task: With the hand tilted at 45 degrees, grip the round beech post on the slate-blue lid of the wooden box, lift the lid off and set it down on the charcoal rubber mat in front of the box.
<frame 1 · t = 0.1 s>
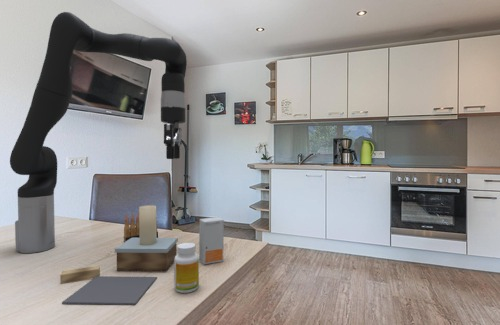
hand: (173, 158, 87), 29 cm above the table, tool pointing down, fingers open, 8 cm apart
supplement bottle: (186, 288, 63), on the table
wooden box: (148, 264, 76), on the table
mat: (113, 290, 61), on the table
wooden block: (81, 279, 67), on the table
ammunition clip: (141, 250, 88), on the table
lid: (148, 246, 76), point 5 cm above the table, touching wooden box
skincare box: (211, 261, 78), on the table
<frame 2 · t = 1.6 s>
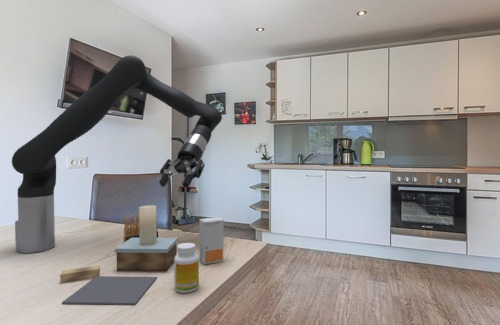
hand: (172, 185, 86), 21 cm above the table, tool tilted 45°, fingers open, 8 cm apart
nothing on the table moved.
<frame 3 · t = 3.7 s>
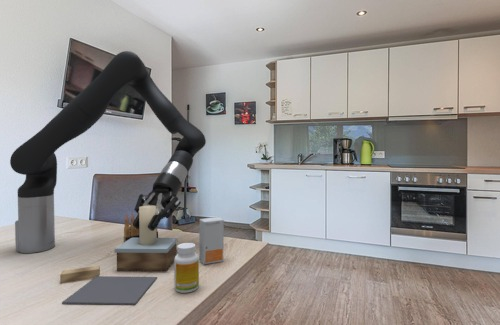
hand: (143, 228, 74), 11 cm above the table, tool tilted 45°, fingers closed on lid, 4 cm apart
lid: (148, 246, 76), point 5 cm above the table, touching gripper, wooden box
everything else where it was.
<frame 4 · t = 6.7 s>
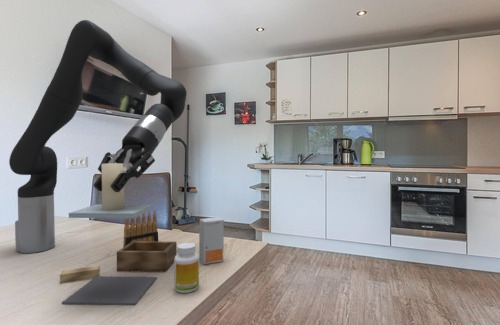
hand: (105, 189, 59), 23 cm above the table, tool tilted 45°, fingers closed on lid, 4 cm apart
lid: (113, 213, 61), point 17 cm above the table, touching gripper
everything else where it was.
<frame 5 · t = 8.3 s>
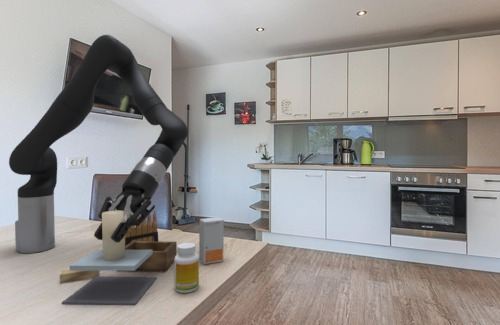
hand: (106, 239, 59), 12 cm above the table, tool tilted 45°, fingers closed on lid, 4 cm apart
lid: (114, 261, 61), point 6 cm above the table, touching gripper
everything else where it was.
when the fingers open (7 cm above the table, at t = 9.5 s): lid drops 1 cm, resting on mat.
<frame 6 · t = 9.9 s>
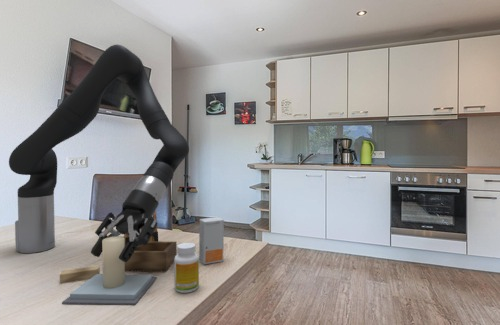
hand: (108, 257, 60), 8 cm above the table, tool tilted 45°, fingers open, 8 cm apart
lid: (114, 288, 62), resting on mat
everything else where it was.
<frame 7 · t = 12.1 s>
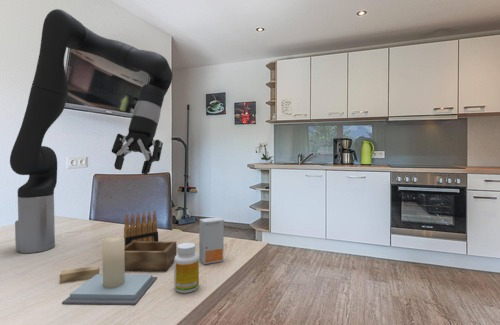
hand: (130, 171, 80), 25 cm above the table, tool tilted 15°, fingers open, 8 cm apart
nothing on the table moved.
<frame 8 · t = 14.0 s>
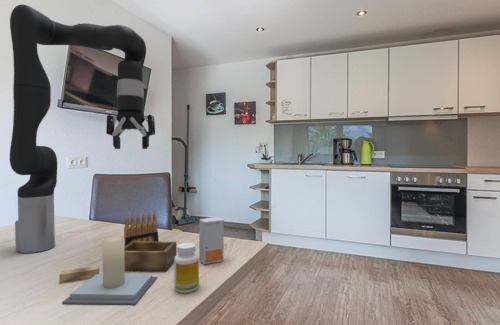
hand: (131, 148, 85), 32 cm above the table, tool pointing down, fingers open, 8 cm apart
nothing on the table moved.
at the end: lid inside the target area on the mat (0.1 cm from its centre), point 0.4 cm above the mat's base; lid touching mat; lid tilted 0° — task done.
